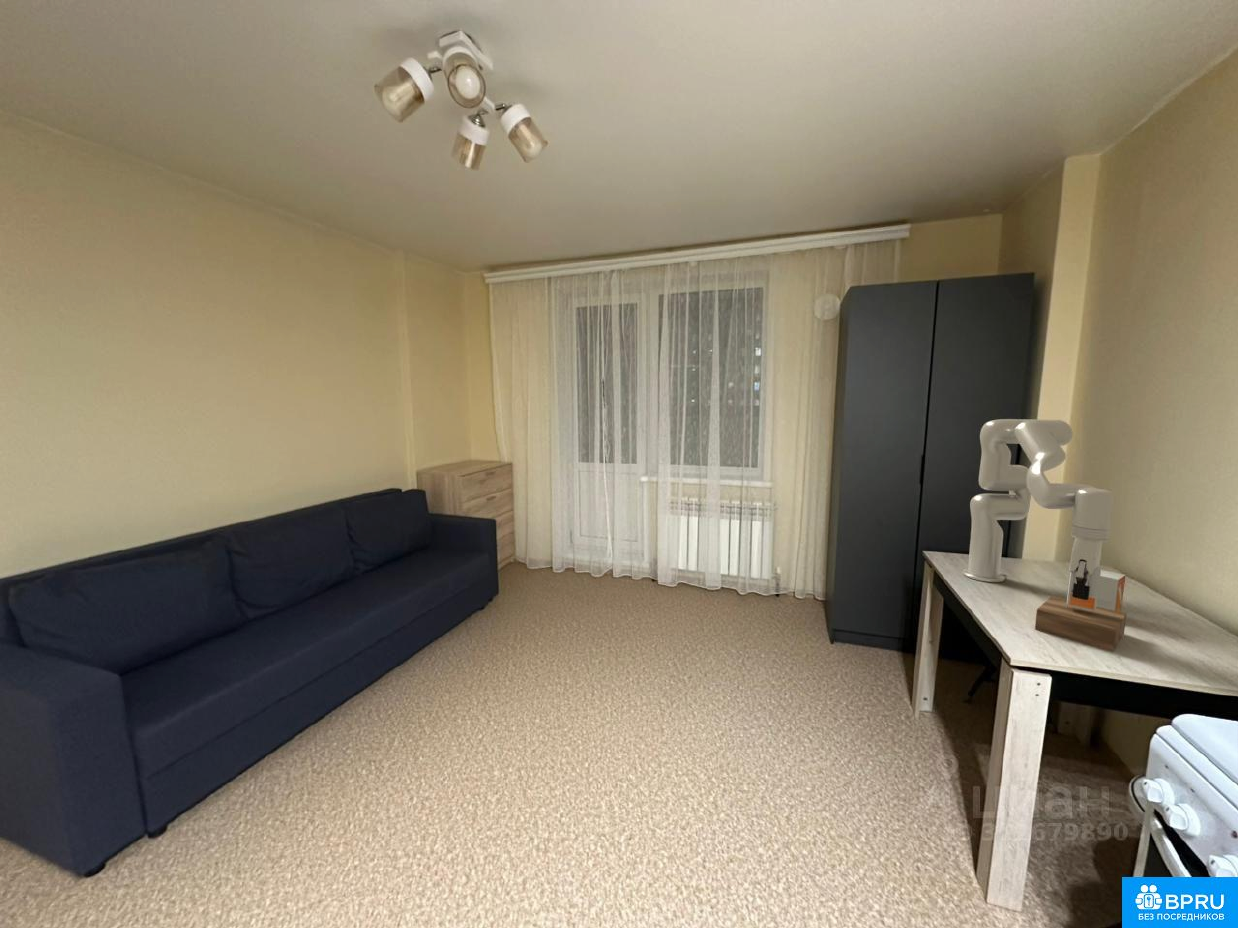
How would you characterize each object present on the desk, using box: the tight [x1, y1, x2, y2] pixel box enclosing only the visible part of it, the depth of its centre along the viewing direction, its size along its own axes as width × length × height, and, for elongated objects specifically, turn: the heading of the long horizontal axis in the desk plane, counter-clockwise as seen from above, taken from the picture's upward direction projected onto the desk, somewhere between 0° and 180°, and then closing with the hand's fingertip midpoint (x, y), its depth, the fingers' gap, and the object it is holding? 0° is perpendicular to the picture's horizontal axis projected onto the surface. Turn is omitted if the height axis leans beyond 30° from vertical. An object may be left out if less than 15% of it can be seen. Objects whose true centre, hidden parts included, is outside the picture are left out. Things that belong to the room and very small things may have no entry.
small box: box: [1096, 569, 1127, 613], centre depth 148 cm, size 8×6×13 cm
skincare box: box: [1066, 566, 1102, 612], centre depth 137 cm, size 6×4×12 cm
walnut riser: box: [1034, 595, 1127, 652], centre depth 138 cm, size 16×16×6 cm
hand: (1082, 595), depth 137 cm, fingers closed on skincare box, 4 cm apart
